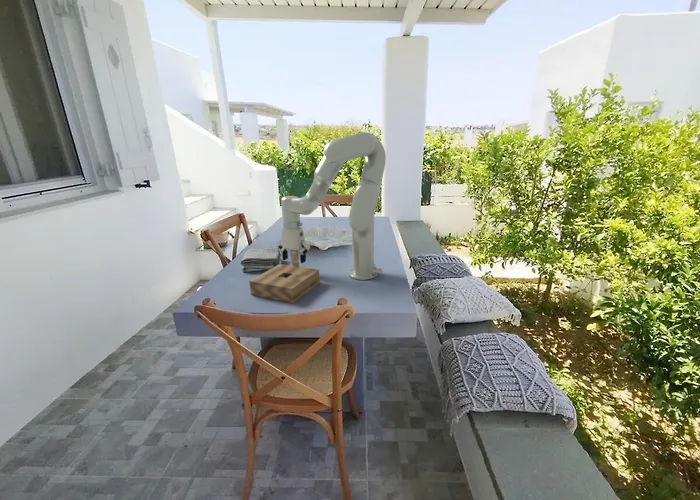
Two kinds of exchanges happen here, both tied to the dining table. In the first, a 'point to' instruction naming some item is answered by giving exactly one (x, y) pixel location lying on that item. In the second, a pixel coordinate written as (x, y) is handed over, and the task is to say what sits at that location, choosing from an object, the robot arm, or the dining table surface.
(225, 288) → the dining table surface
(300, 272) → the bore block
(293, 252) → the peg
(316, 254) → the dining table surface
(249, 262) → the towel
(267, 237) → the dining table surface
